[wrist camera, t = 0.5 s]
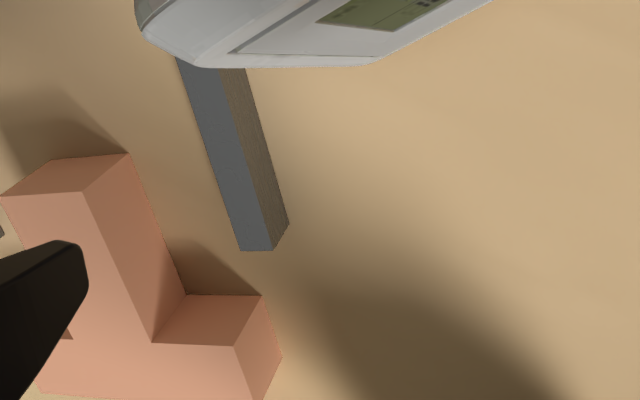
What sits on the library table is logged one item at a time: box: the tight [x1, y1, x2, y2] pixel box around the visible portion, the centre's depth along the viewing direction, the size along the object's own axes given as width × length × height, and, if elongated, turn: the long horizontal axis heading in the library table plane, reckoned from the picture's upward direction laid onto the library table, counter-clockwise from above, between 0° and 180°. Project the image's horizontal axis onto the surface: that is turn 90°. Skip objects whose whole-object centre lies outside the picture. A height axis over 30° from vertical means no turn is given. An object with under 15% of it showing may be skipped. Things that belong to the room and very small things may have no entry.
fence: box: [0, 56, 289, 251], centre depth 26 cm, size 13×18×2 cm
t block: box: [0, 153, 282, 400], centre depth 29 cm, size 12×13×4 cm
